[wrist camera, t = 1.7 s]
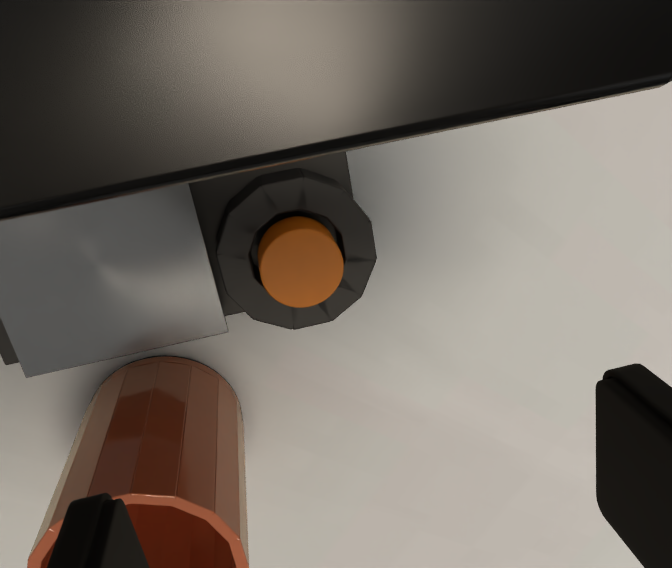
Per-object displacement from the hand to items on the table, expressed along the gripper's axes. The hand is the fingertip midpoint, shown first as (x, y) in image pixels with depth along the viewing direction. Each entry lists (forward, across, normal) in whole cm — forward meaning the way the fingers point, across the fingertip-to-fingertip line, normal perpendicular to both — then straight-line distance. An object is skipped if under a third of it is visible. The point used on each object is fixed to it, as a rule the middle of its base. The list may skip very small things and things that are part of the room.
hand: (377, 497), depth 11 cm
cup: (+16, +7, +8) cm, 19 cm away
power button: (+14, 0, 0) cm, 14 cm away
